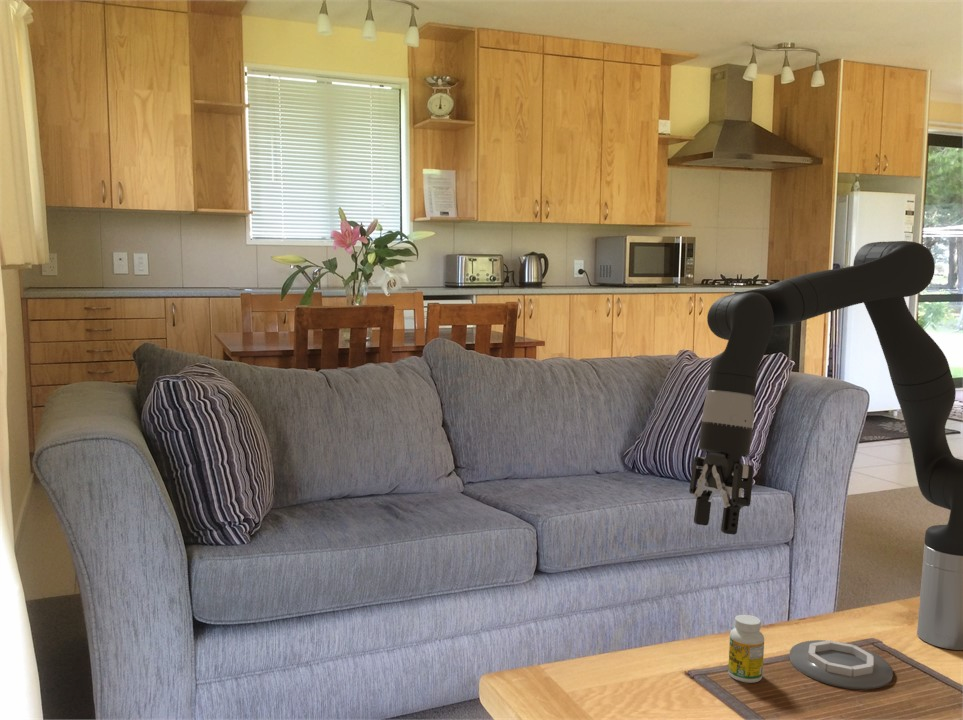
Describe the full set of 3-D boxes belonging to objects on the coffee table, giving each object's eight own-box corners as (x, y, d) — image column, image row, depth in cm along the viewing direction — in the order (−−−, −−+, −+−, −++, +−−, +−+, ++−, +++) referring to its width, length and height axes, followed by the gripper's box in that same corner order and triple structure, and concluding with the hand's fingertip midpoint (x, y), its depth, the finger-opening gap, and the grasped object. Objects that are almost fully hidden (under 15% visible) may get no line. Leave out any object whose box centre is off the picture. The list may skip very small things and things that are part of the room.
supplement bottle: (769, 681, 137) (772, 624, 136) (740, 685, 135) (743, 628, 134) (749, 666, 142) (752, 611, 141) (721, 670, 140) (724, 614, 139)
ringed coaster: (793, 637, 153) (794, 627, 153) (891, 656, 146) (892, 645, 146) (785, 675, 139) (786, 664, 138) (893, 698, 132) (894, 686, 132)
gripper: (775, 428, 123) (762, 540, 122) (725, 424, 137) (713, 524, 136) (728, 421, 121) (714, 534, 120) (683, 417, 135) (670, 519, 134)
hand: (714, 529), depth 128 cm, fingers open, 8 cm apart
